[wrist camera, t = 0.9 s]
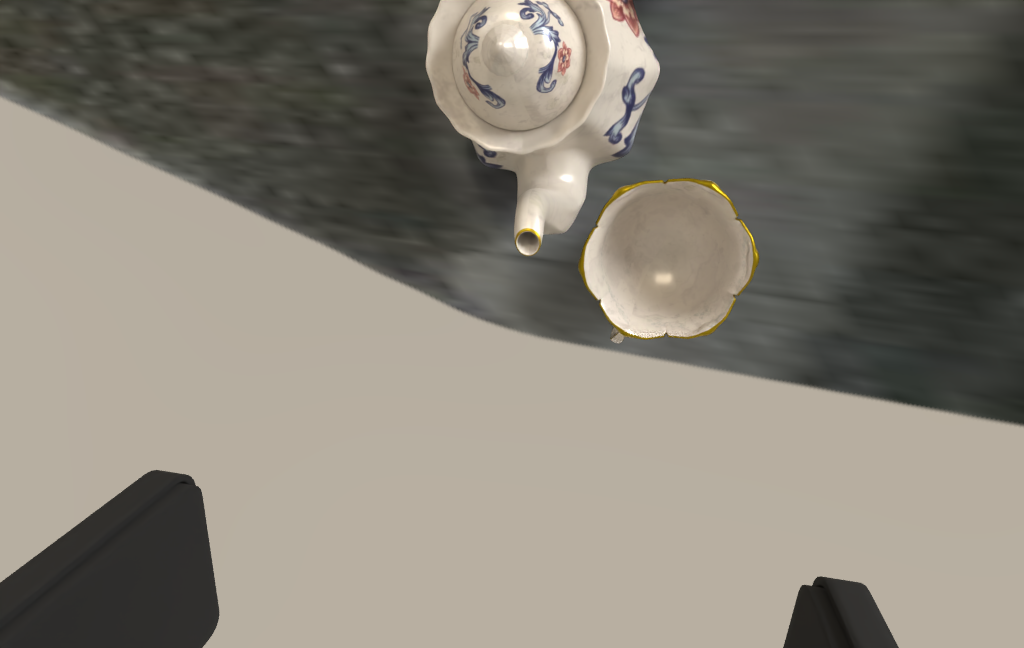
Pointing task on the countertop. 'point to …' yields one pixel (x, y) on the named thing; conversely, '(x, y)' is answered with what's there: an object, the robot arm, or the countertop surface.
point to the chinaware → (588, 155)
